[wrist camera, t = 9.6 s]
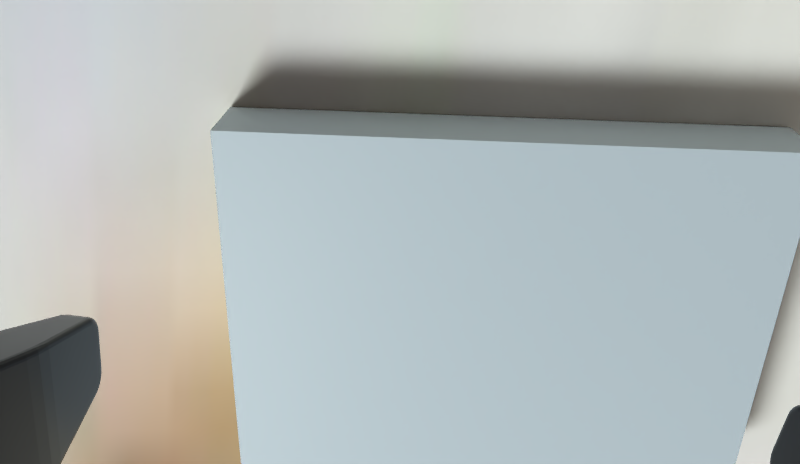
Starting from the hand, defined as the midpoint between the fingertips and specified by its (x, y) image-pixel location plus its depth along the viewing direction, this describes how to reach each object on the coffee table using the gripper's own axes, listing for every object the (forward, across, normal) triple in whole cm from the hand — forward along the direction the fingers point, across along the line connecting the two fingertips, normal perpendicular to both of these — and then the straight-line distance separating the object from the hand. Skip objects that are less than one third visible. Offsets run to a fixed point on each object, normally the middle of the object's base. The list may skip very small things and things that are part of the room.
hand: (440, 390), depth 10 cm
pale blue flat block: (+12, +2, -5) cm, 13 cm away
